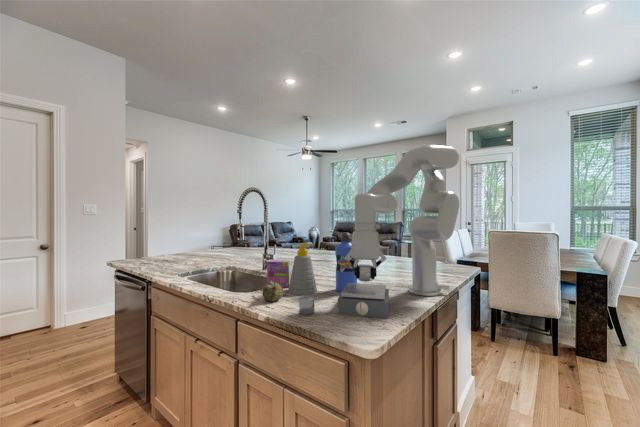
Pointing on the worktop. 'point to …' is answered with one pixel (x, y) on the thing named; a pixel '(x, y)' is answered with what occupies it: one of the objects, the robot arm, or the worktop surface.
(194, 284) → the worktop surface
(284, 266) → the box
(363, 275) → the cylinder
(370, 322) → the worktop surface
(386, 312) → the base
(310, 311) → the cylinder
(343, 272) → the blue bottle
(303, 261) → the soap bottle
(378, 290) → the pan
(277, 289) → the onion
